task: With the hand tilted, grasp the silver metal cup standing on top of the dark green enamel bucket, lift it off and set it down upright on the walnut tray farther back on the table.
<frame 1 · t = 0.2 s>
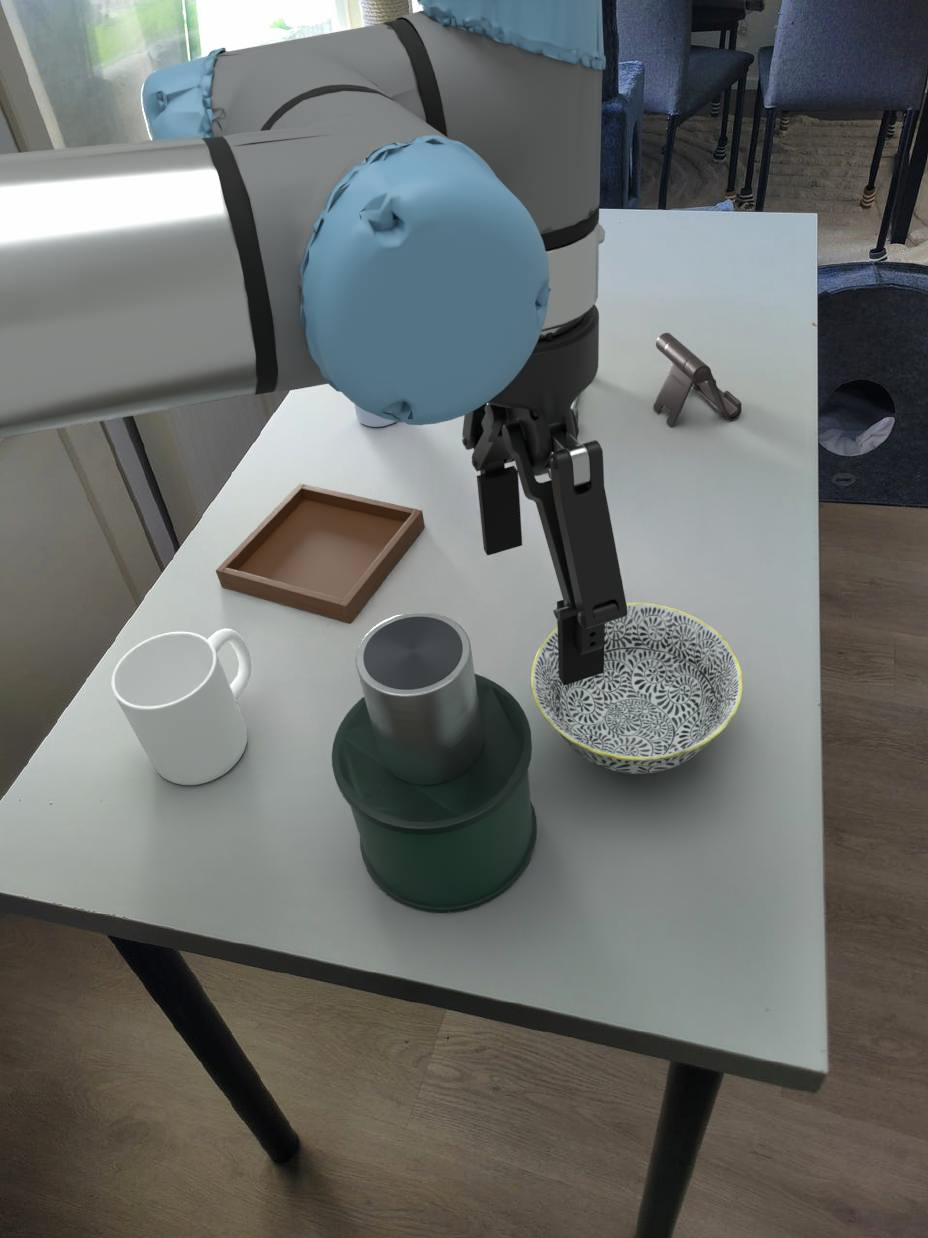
hand: (539, 606, 62), 18 cm above the table, tool pointing down, fingers open, 13 cm apart
bucket: (448, 831, 71), on the table
tray: (325, 556, 97), on the table
cup: (217, 735, 81), on the table
bowl: (632, 736, 76), on the table
tablet stand: (692, 411, 110), on the table
toy car: (535, 410, 113), on the table
silver cup: (430, 742, 63), point 11 cm above the table, touching bucket
spray bottle: (381, 416, 116), on the table
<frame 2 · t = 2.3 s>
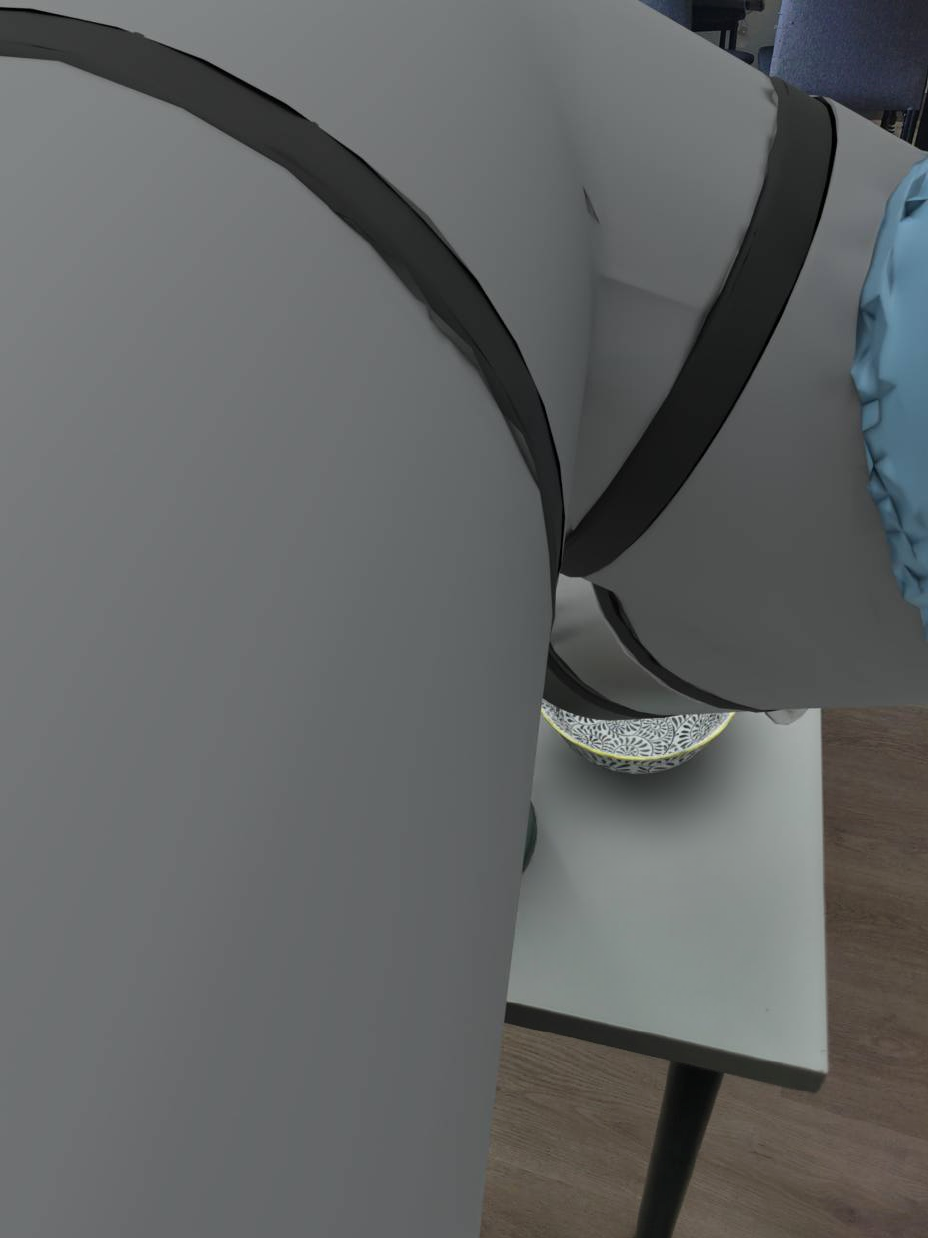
hand: (464, 650, 45), 29 cm above the table, tool tilted 45°, fingers open, 13 cm apart
nothing on the table moved.
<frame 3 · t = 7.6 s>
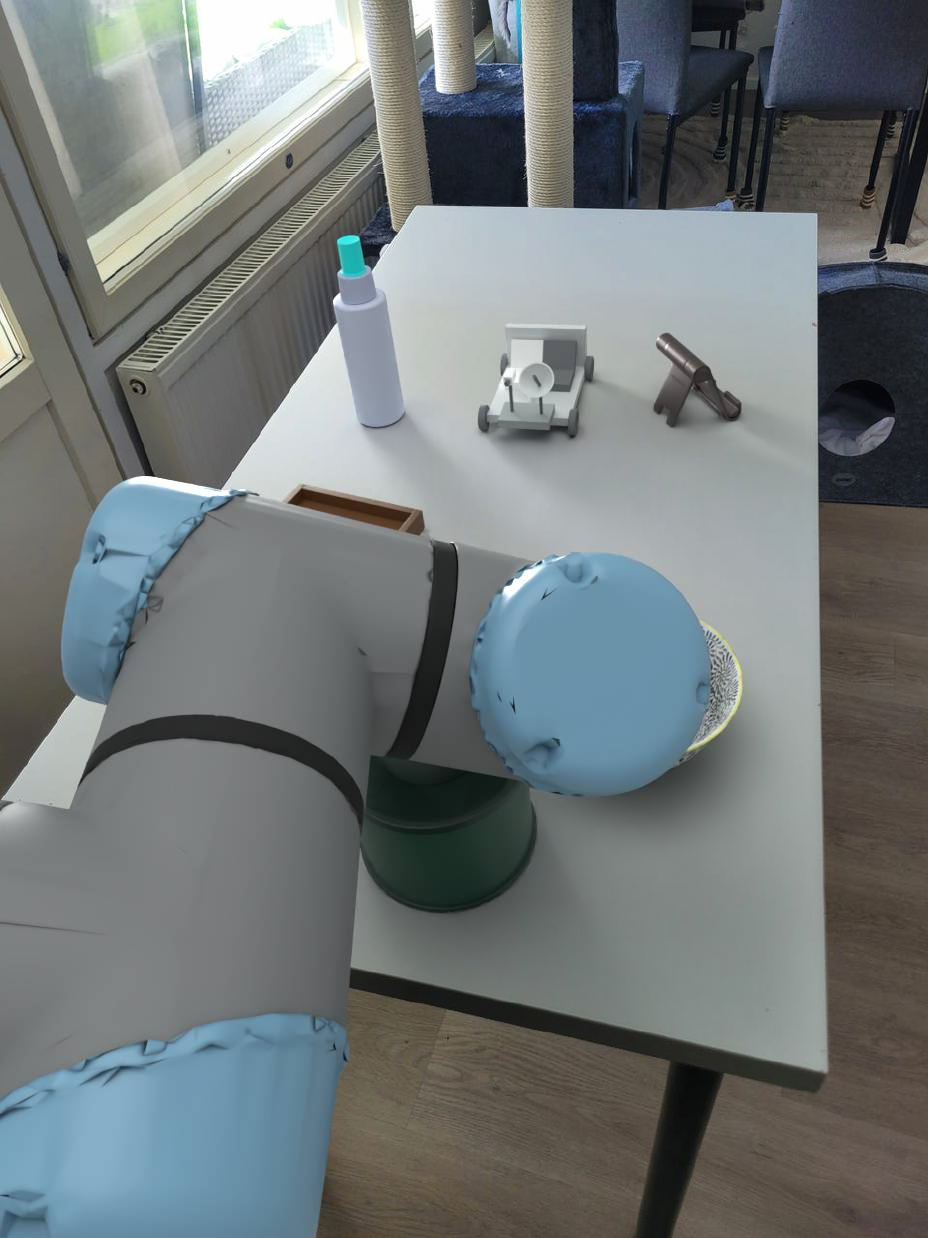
hand: (407, 684, 64), 14 cm above the table, tool tilted 45°, fingers closed on silver cup, 7 cm apart
silver cup: (430, 742, 63), point 11 cm above the table, touching bucket, gripper
everything else where it was.
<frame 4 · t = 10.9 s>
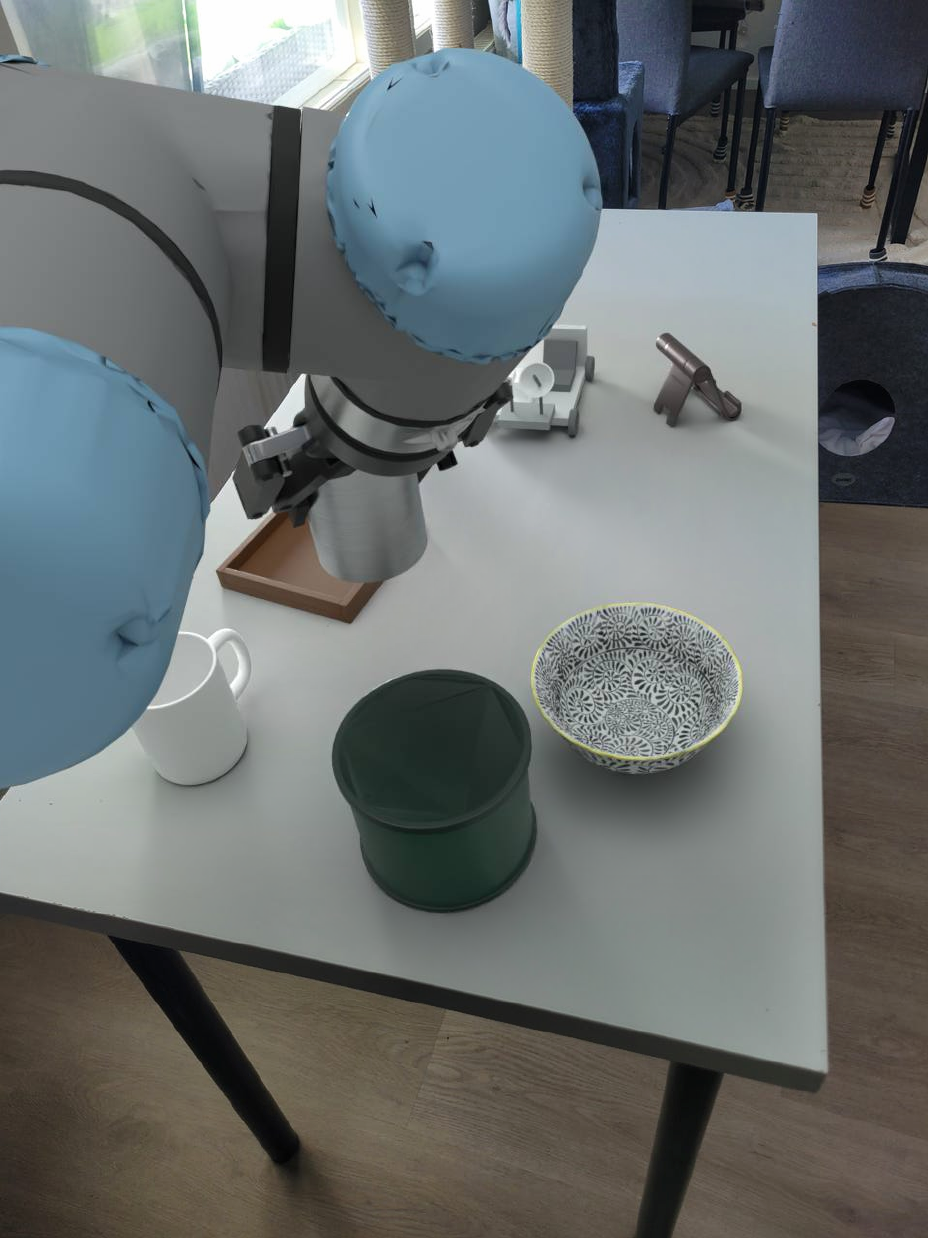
hand: (349, 487, 61), 26 cm above the table, tool tilted 45°, fingers closed on silver cup, 7 cm apart
silver cup: (373, 546, 60), point 23 cm above the table, touching gripper
everything else where it was.
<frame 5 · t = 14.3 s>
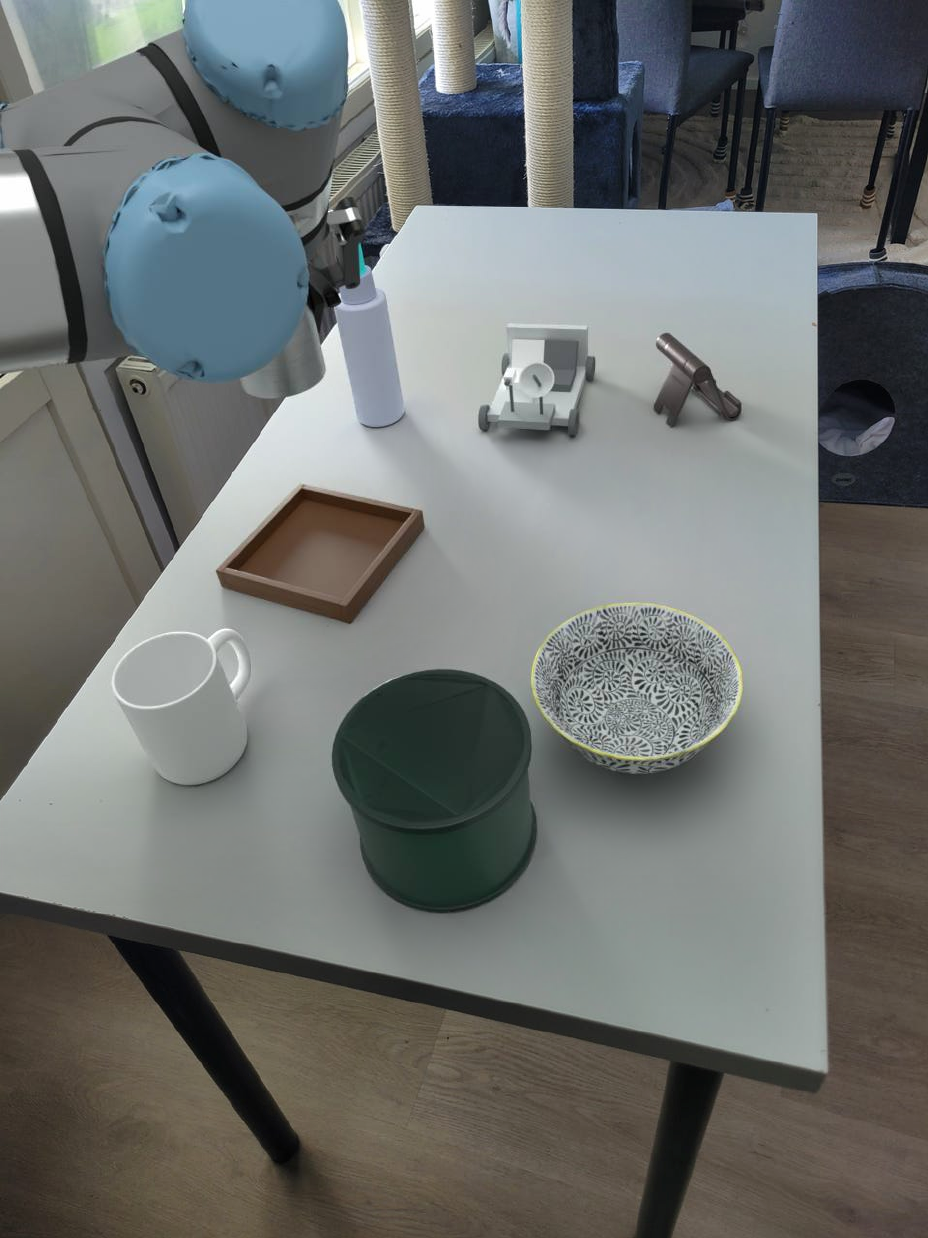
hand: (265, 332, 79), 25 cm above the table, tool tilted 45°, fingers closed on silver cup, 7 cm apart
silver cup: (283, 376, 78), point 23 cm above the table, touching gripper
everything else where it was.
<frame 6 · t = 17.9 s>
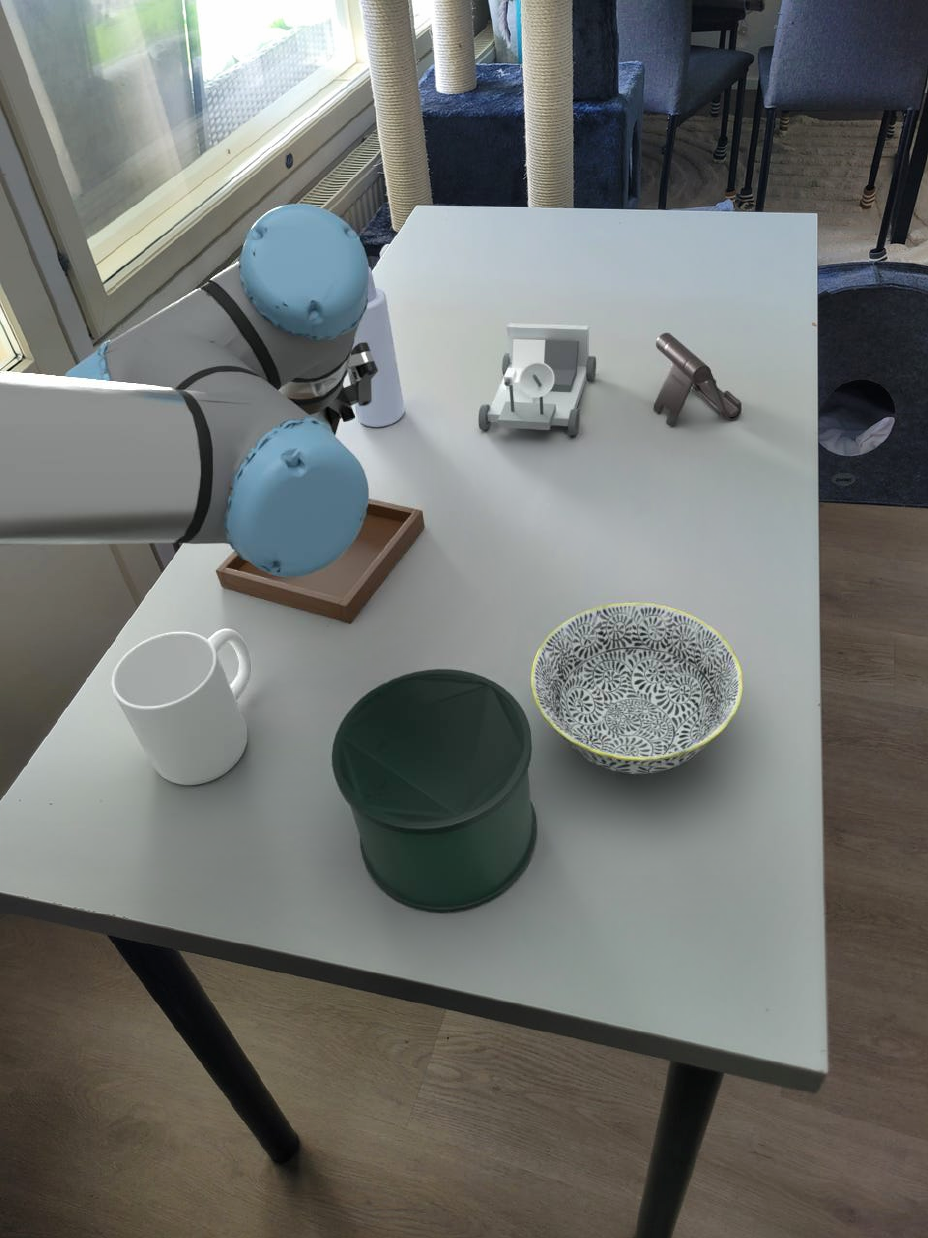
hand: (288, 436, 90), 13 cm above the table, tool tilted 45°, fingers closed on silver cup, 7 cm apart
silver cup: (304, 475, 89), point 10 cm above the table, touching gripper
everything else where it was.
when the fingers open (3 cm above the table, at t = 20.9 s): silver cup stays where it is, resting on tray.
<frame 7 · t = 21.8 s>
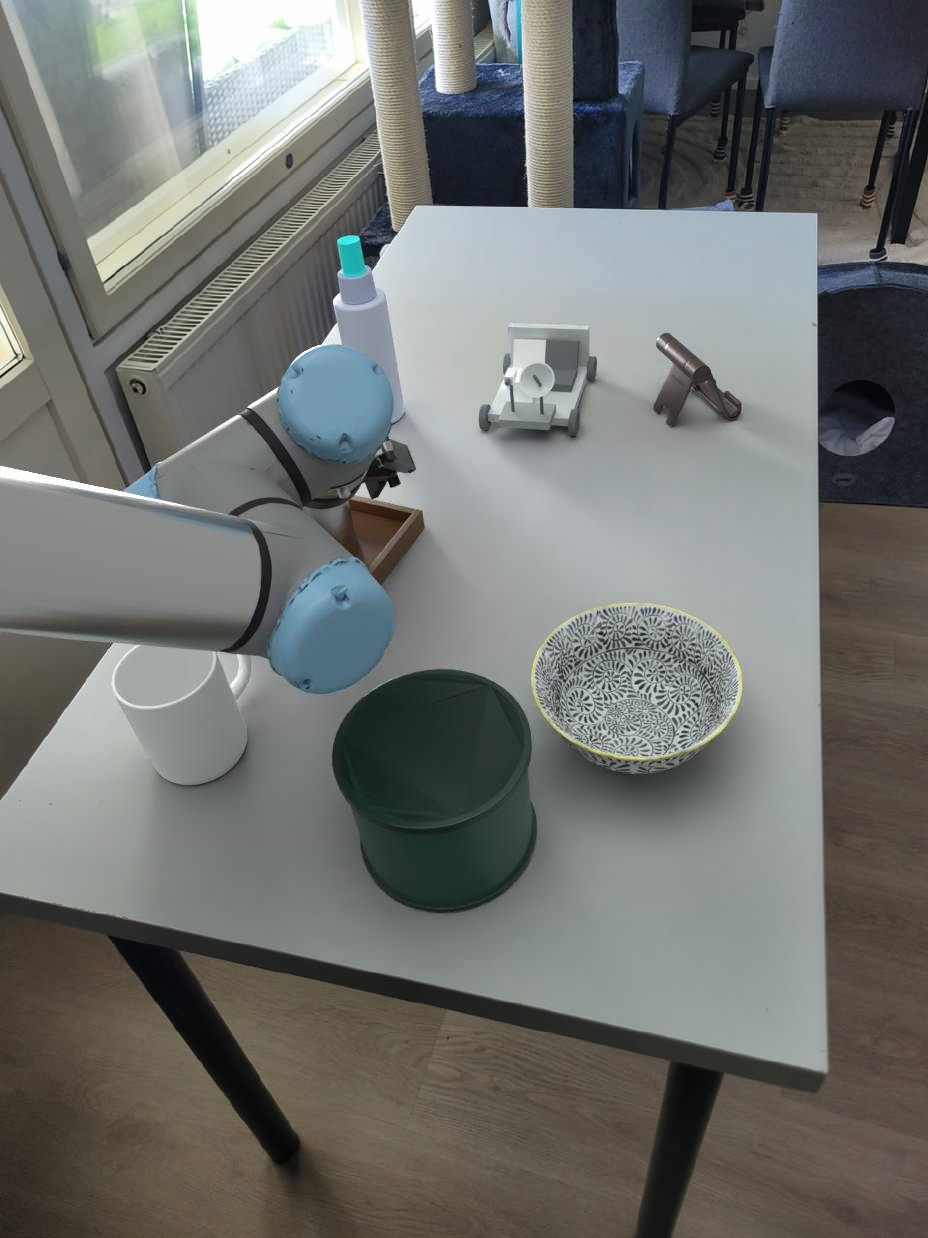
hand: (307, 507, 94), 5 cm above the table, tool tilted 45°, fingers open, 13 cm apart
silver cup: (324, 550, 96), point 1 cm above the table, touching tray
everything else where it was.
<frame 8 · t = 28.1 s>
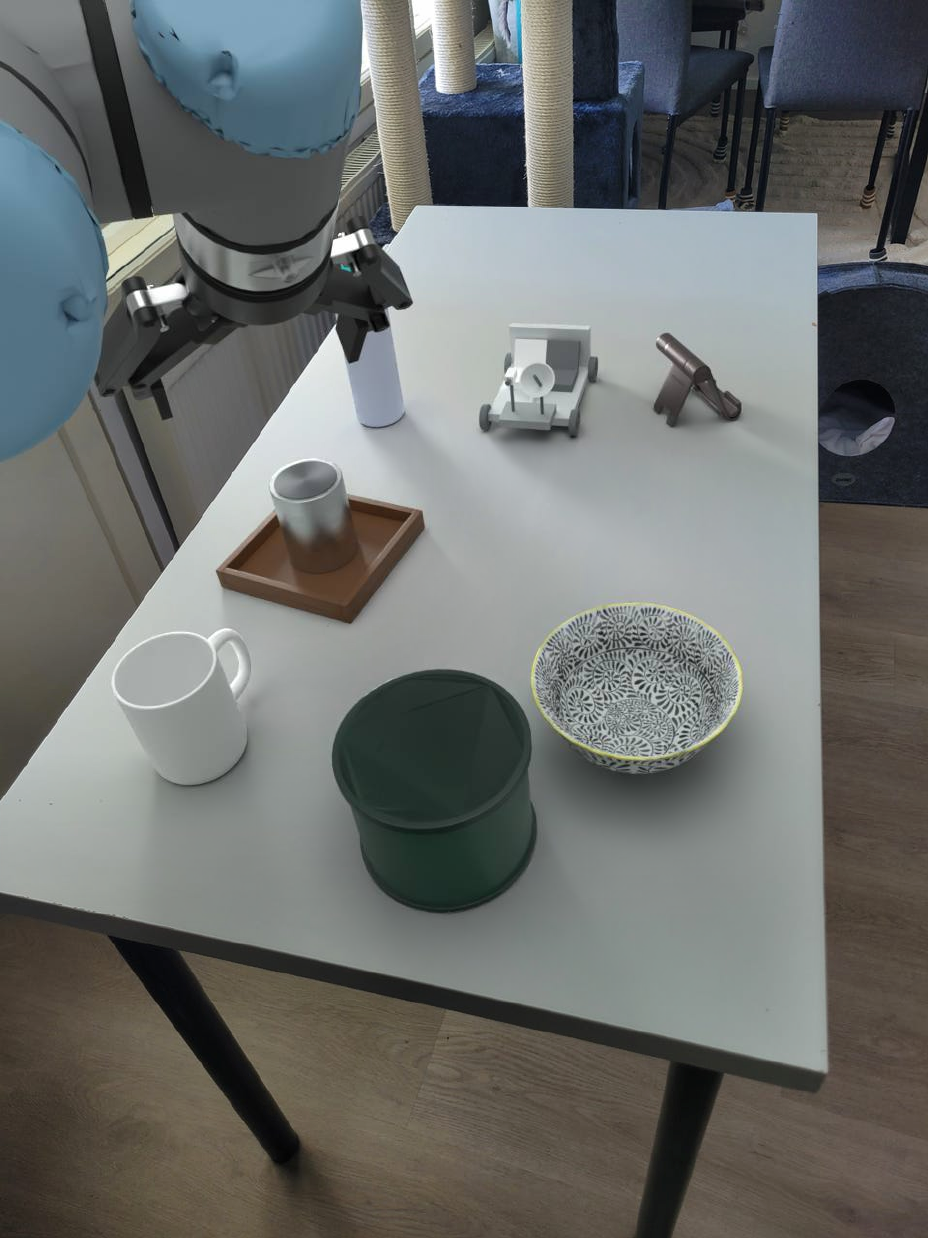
hand: (256, 372, 65), 30 cm above the table, tool tilted 45°, fingers open, 13 cm apart
nothing on the table moved.
at the end: silver cup inside the target area in the tray (0.0 cm from its centre), point 0.8 cm above the tray's base; silver cup tilted 0°; silver cup touching tray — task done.
